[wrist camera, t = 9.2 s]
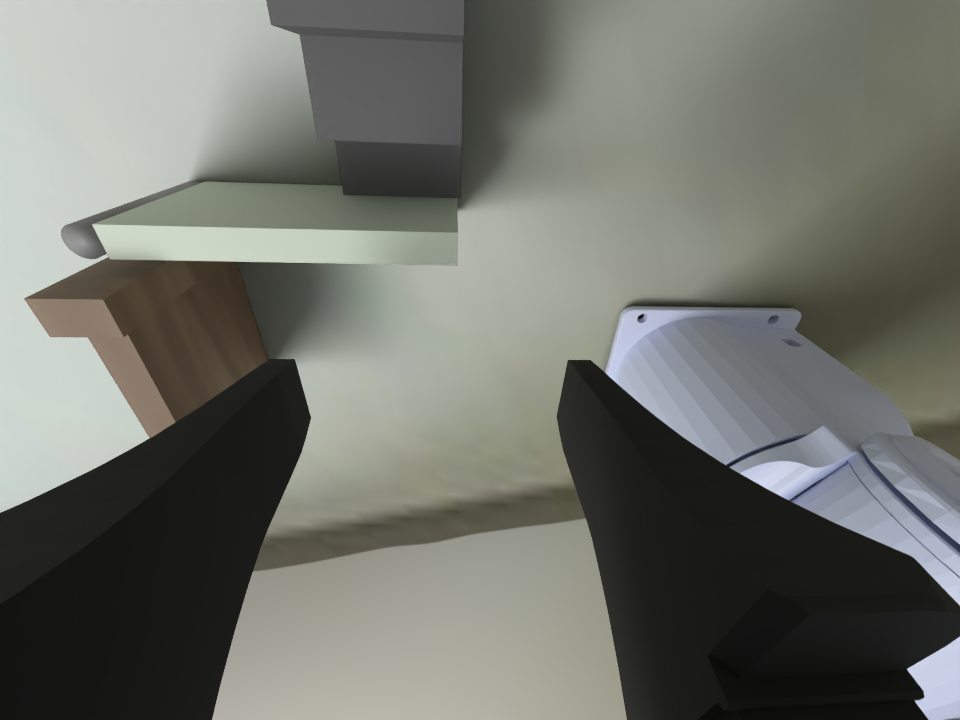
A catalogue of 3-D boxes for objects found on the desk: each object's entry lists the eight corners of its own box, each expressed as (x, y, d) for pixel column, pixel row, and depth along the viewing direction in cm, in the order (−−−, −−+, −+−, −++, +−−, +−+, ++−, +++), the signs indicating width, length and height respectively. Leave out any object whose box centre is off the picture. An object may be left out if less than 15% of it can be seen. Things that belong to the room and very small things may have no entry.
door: (188, 206, 16) (73, 258, 11) (179, 180, 16) (53, 223, 11) (457, 213, 17) (457, 265, 12) (457, 189, 16) (457, 232, 12)
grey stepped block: (323, -53, 13) (237, -145, 8) (462, -44, 13) (465, -126, 8) (354, 184, 16) (311, 225, 12) (459, 187, 17) (461, 228, 12)
